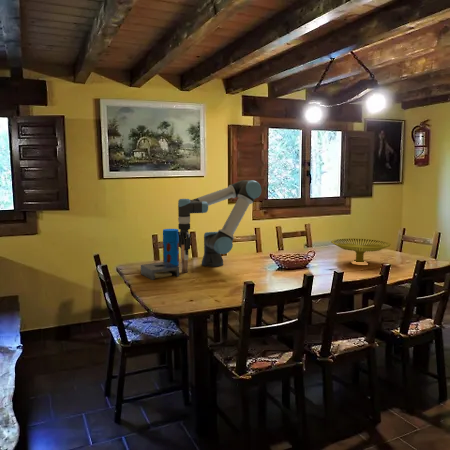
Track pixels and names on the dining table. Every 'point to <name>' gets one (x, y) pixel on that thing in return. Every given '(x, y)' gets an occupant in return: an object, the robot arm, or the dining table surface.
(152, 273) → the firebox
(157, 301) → the dining table surface
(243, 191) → the robot arm
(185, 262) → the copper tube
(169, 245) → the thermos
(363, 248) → the cake stand
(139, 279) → the dining table surface
